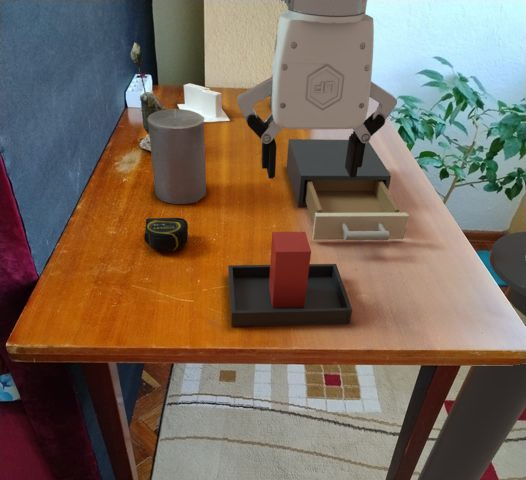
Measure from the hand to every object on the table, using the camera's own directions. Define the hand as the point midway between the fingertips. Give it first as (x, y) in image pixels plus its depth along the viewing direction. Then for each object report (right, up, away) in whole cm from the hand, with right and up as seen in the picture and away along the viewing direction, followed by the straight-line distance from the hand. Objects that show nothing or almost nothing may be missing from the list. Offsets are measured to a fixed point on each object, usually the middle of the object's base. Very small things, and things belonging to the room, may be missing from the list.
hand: (310, 173), depth 58 cm
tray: (-2, -14, +12) cm, 19 cm away
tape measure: (-22, -4, +22) cm, 31 cm away
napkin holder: (-21, +41, +70) cm, 84 cm away
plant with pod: (-29, +24, +51) cm, 63 cm away
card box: (-2, -13, +12) cm, 18 cm away
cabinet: (+8, +12, +40) cm, 43 cm away
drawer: (+10, +2, +28) cm, 30 cm away
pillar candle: (-21, +9, +35) cm, 42 cm away
